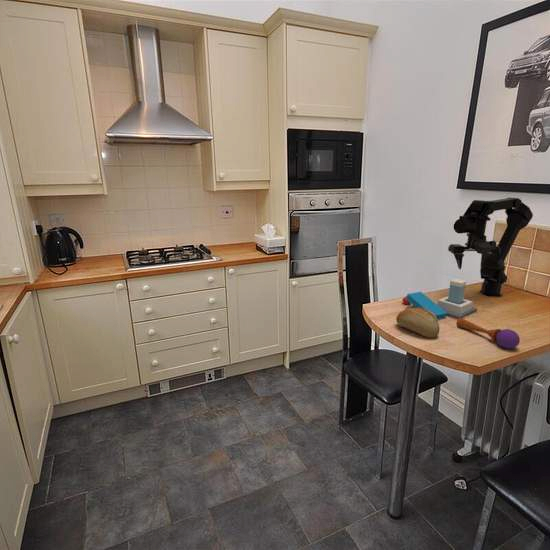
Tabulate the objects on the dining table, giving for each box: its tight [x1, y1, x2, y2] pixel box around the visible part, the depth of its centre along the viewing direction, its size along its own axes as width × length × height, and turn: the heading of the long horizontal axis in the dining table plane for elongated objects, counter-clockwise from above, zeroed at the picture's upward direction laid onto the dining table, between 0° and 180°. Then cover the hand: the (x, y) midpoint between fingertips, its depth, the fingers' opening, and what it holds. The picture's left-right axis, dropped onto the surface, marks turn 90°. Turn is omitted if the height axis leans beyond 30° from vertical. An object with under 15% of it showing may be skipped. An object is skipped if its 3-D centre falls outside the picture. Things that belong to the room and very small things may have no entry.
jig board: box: [437, 295, 478, 320], centre depth 140 cm, size 14×11×4 cm
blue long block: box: [402, 291, 447, 320], centre depth 141 cm, size 7×7×18 cm
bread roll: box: [395, 306, 440, 339], centre depth 122 cm, size 10×15×8 cm, turn 39°
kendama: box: [456, 318, 521, 350], centre depth 117 cm, size 6×6×20 cm
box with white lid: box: [447, 278, 467, 305], centre depth 138 cm, size 4×4×11 cm
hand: (470, 269), depth 150 cm, fingers open, 9 cm apart
